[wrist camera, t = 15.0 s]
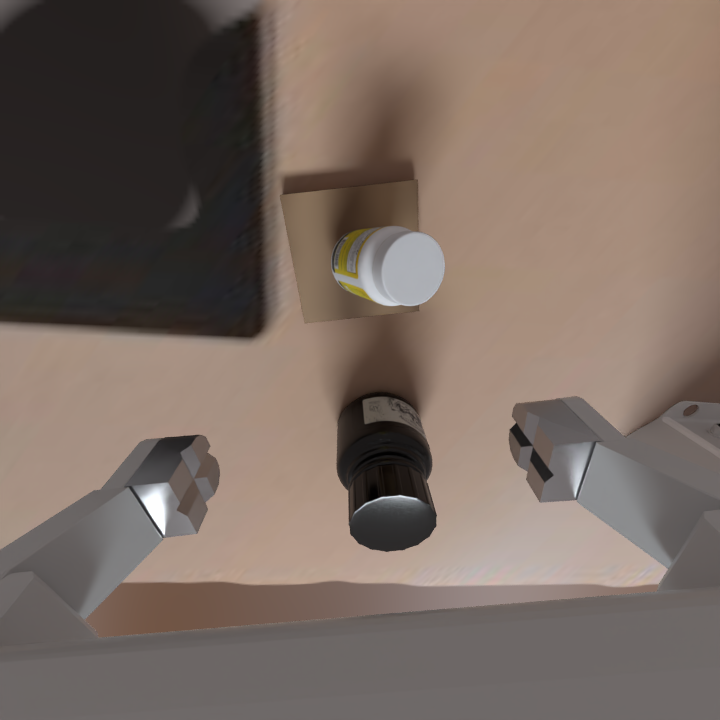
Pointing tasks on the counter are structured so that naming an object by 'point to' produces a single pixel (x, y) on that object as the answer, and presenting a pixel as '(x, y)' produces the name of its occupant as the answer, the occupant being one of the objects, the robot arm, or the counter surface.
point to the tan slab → (325, 228)
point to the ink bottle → (385, 472)
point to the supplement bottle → (389, 265)
